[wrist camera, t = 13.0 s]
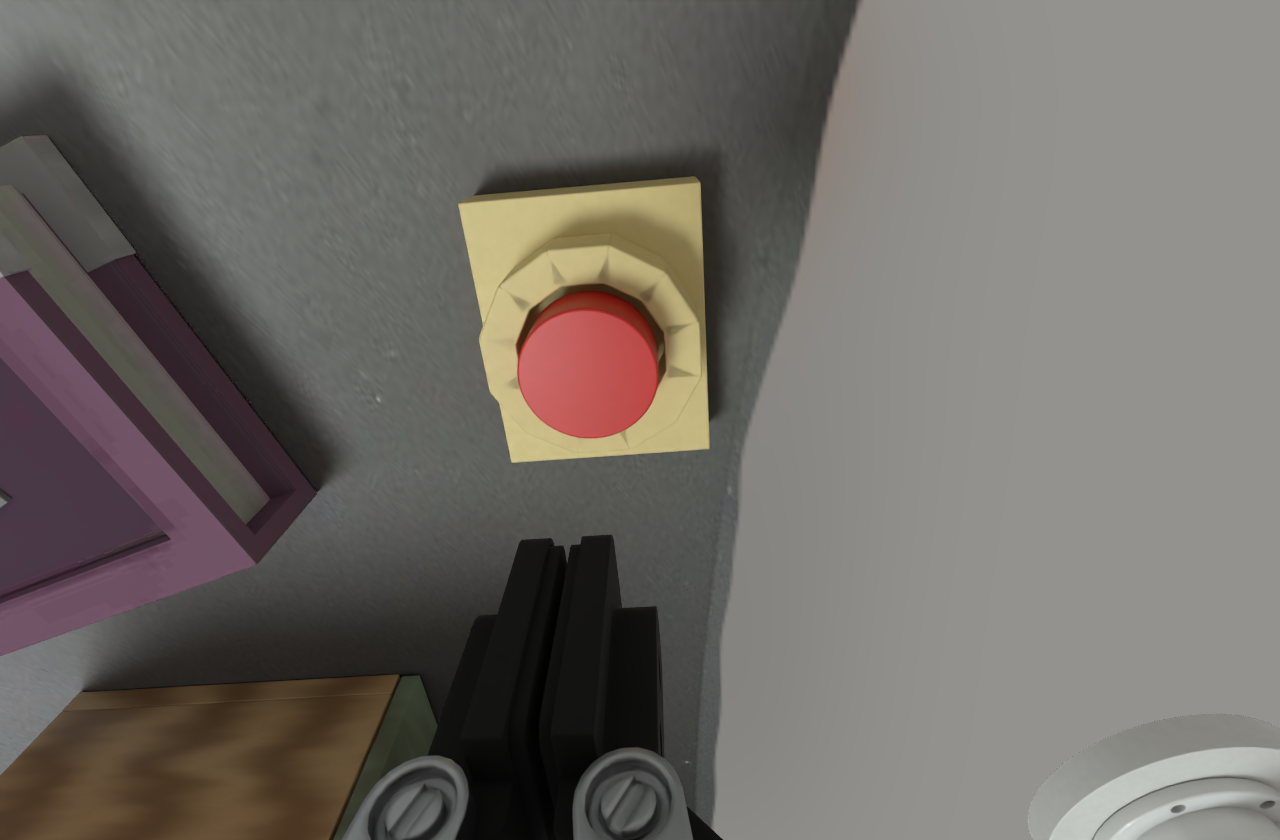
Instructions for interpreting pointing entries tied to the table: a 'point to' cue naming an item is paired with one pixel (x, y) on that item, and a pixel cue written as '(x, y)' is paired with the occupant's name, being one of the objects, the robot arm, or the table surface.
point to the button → (589, 365)
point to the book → (112, 423)
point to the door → (395, 742)
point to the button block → (595, 261)
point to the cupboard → (198, 762)
